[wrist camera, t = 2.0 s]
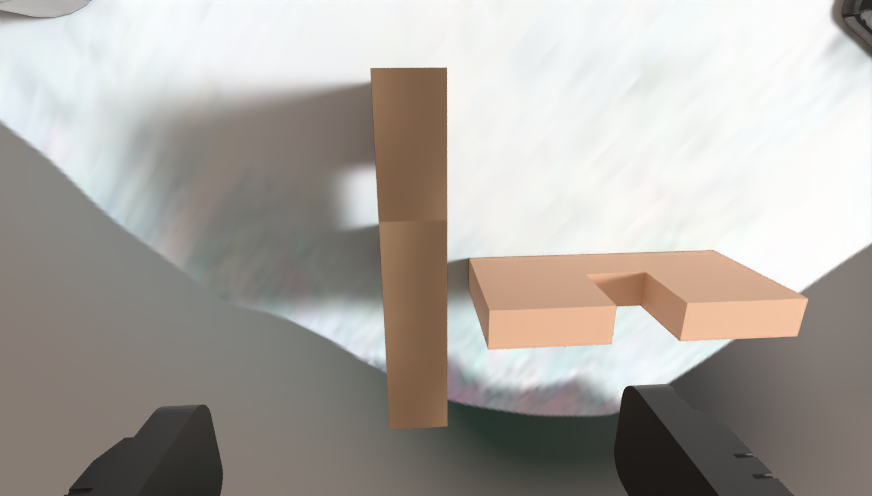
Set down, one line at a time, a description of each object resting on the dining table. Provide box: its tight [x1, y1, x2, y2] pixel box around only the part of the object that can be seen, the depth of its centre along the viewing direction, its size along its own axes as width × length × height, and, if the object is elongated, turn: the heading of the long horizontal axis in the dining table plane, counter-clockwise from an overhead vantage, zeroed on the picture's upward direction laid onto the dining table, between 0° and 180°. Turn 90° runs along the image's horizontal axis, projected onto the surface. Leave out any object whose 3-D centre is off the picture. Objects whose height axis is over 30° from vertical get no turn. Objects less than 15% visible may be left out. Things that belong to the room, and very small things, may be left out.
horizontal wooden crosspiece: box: [469, 250, 808, 350], centre depth 28 cm, size 18×2×8 cm, turn 91°
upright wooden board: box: [370, 68, 447, 429], centre depth 23 cm, size 2×14×14 cm, turn 1°
